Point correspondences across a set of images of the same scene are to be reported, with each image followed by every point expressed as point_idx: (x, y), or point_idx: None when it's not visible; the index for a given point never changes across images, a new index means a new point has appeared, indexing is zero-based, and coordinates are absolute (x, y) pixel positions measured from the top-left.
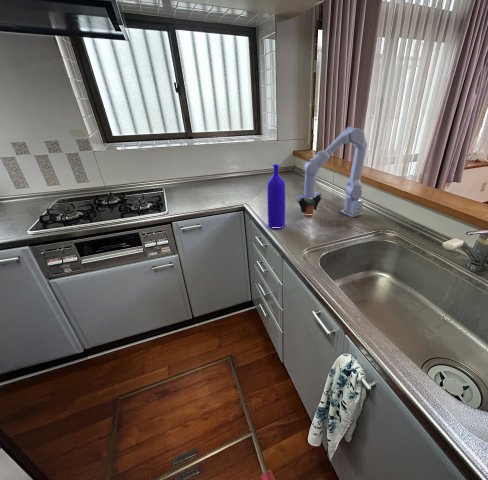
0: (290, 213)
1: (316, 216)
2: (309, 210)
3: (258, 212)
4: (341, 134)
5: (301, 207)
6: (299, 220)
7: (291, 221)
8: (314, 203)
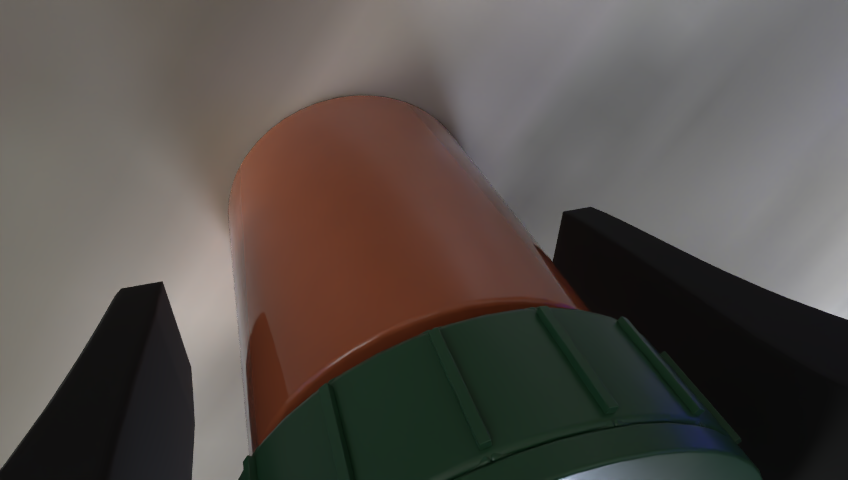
0: None
1: (182, 58)
2: (487, 207)
3: None
4: None
5: None
6: (703, 38)
7: (827, 69)
8: (341, 449)
